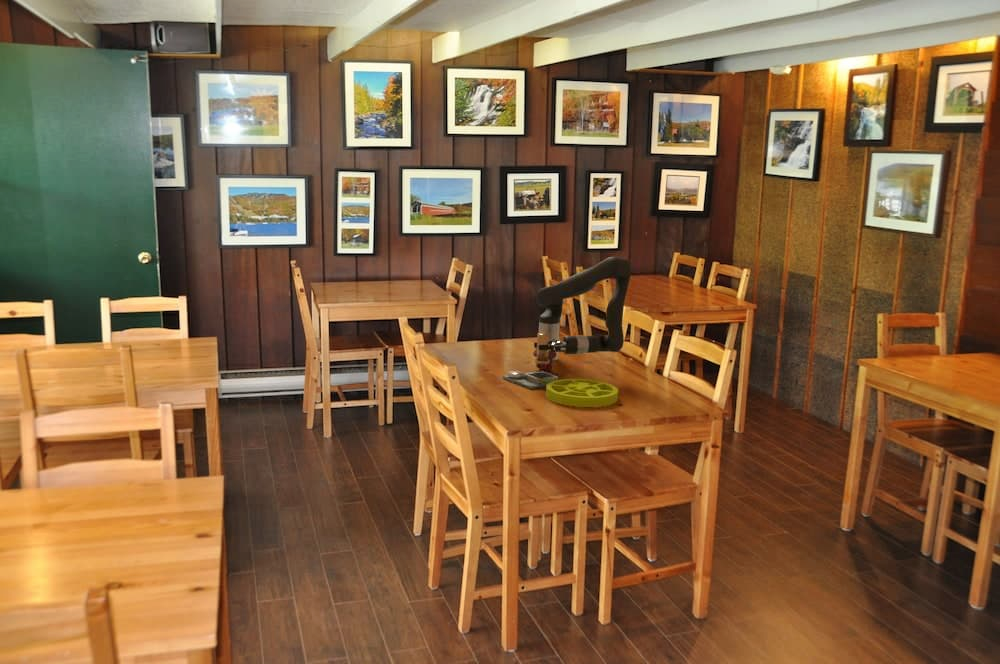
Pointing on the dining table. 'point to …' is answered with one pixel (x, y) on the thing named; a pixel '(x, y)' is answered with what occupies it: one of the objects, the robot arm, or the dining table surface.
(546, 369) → the mechanical component
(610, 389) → the pulley
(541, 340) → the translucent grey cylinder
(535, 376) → the carrier plate
